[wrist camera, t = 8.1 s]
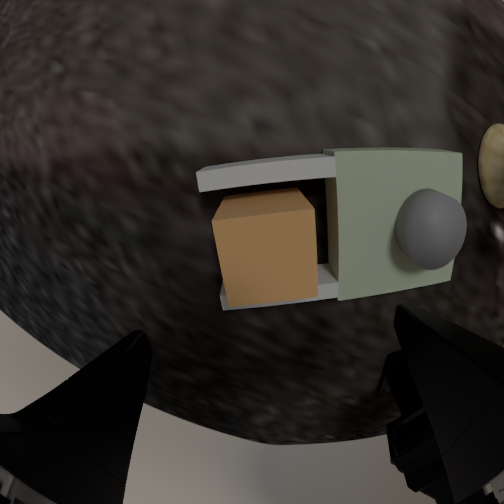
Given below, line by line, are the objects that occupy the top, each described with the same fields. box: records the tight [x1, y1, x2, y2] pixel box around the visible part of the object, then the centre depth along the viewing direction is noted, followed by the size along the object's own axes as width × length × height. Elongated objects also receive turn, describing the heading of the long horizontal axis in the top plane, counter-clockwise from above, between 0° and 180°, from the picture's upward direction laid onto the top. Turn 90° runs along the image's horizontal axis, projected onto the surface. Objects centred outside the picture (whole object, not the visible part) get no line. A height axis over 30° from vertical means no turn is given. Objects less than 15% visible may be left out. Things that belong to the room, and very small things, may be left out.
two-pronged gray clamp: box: [196, 148, 467, 310], centre depth 17 cm, size 18×10×5 cm, turn 97°
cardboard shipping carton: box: [212, 187, 318, 307], centre depth 17 cm, size 5×5×6 cm
